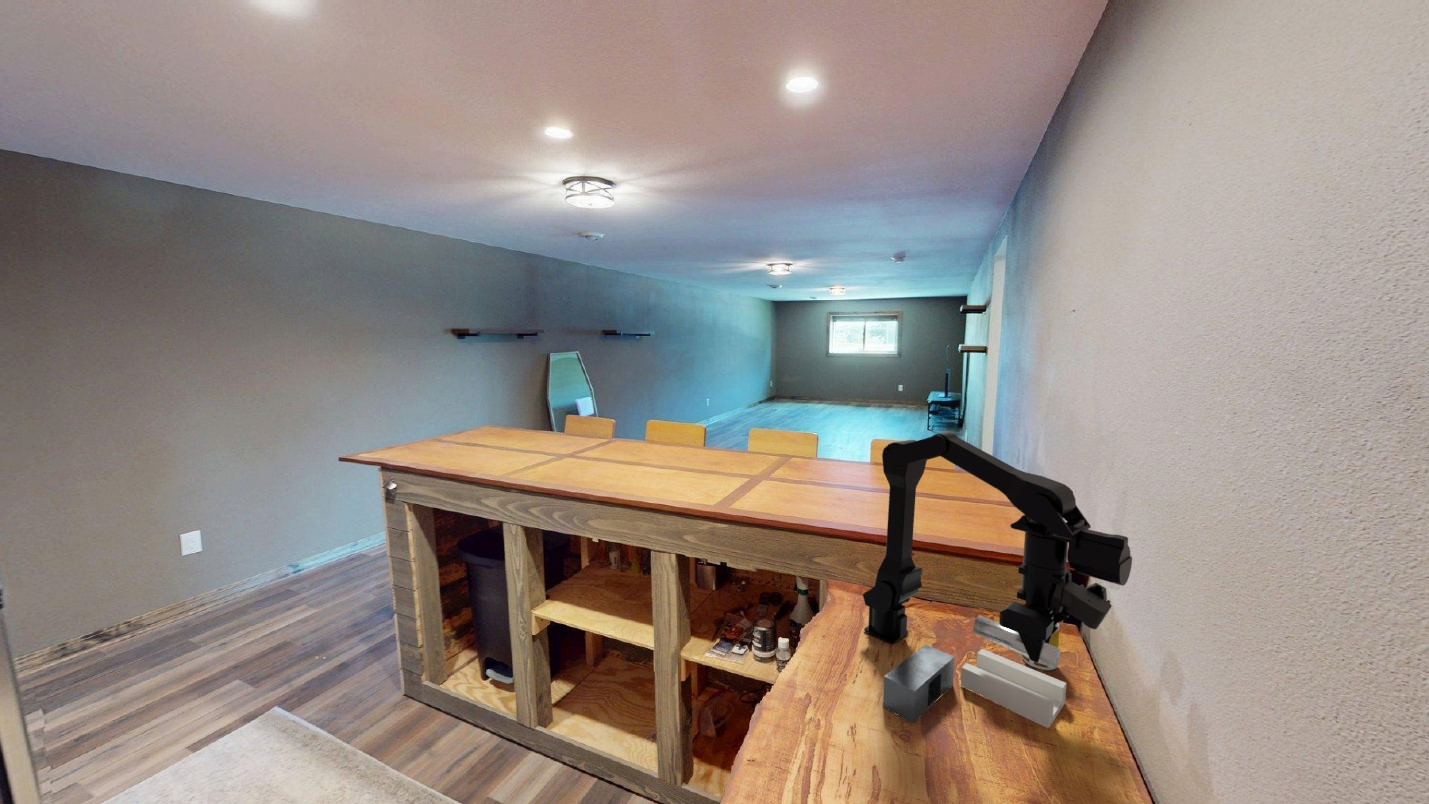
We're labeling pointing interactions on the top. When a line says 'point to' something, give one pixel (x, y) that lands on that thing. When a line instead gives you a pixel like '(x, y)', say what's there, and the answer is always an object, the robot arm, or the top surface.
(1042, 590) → the robot arm
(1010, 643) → the axle
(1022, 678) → the cradle
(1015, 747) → the top surface
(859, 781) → the top surface
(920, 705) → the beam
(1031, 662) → the supplement bottle
